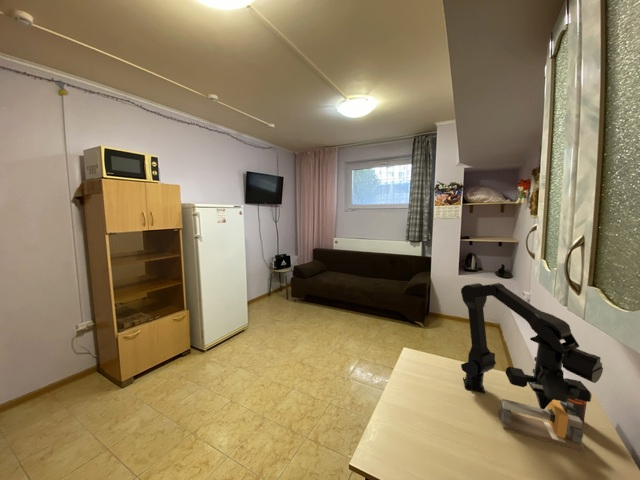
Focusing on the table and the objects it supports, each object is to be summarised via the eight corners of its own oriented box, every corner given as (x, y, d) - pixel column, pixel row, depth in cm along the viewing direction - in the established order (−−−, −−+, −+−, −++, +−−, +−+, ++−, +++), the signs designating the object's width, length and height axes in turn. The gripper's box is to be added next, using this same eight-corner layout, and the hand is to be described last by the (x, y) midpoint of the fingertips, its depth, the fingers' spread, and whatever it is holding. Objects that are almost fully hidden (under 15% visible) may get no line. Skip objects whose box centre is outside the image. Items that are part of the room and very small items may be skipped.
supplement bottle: (578, 414, 86) (583, 383, 85) (587, 428, 81) (593, 395, 79) (555, 408, 89) (559, 378, 87) (562, 421, 83) (567, 389, 82)
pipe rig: (498, 412, 87) (500, 393, 86) (571, 431, 80) (574, 410, 79) (503, 429, 80) (506, 408, 79) (583, 451, 73) (587, 429, 72)
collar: (546, 417, 82) (549, 397, 81) (554, 419, 81) (557, 399, 80) (556, 435, 75) (559, 414, 74) (565, 438, 75) (568, 416, 74)
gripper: (520, 369, 73) (513, 418, 75) (608, 387, 66) (598, 441, 68) (508, 348, 83) (502, 392, 85) (584, 362, 76) (575, 410, 78)
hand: (541, 408), depth 79 cm, fingers closed
